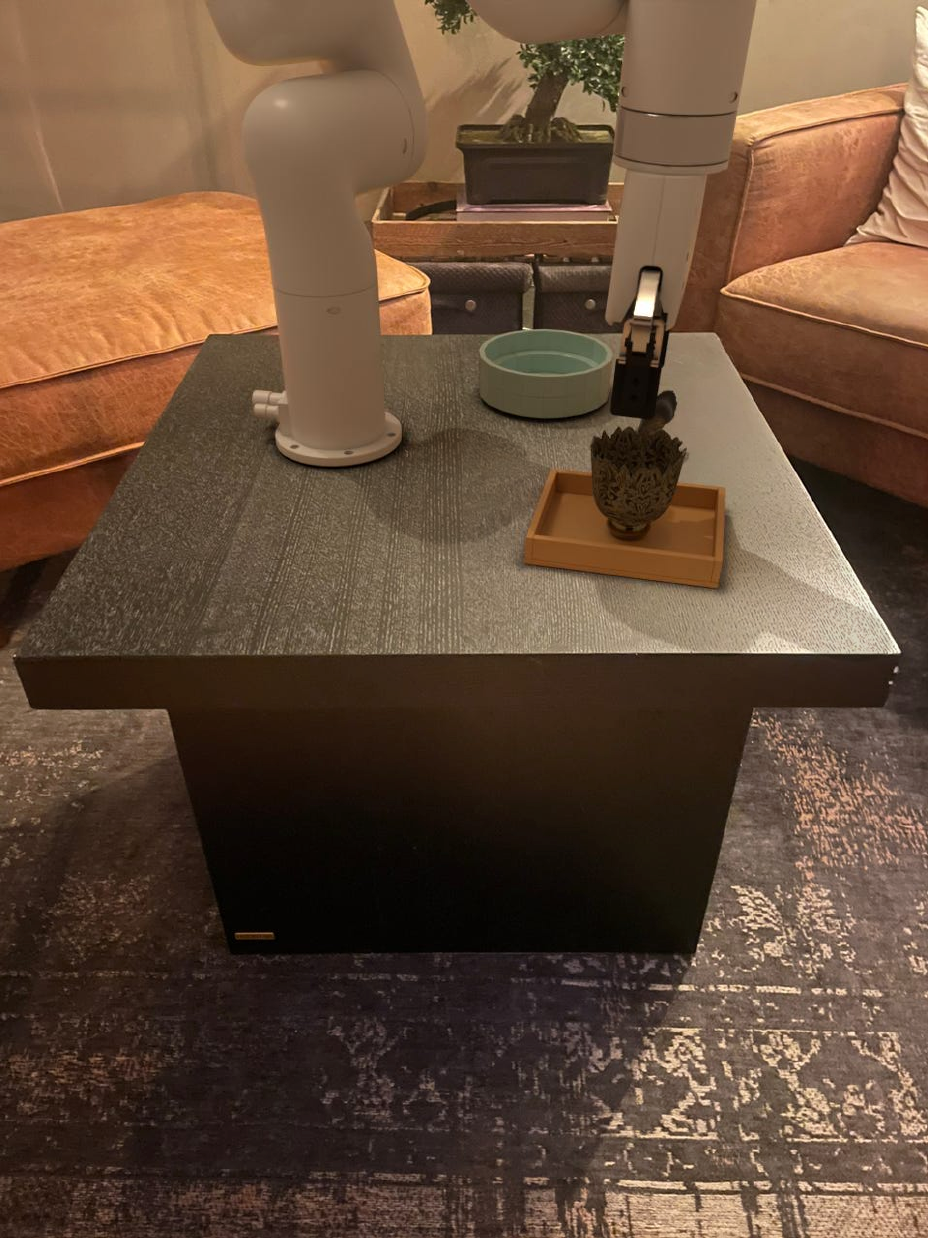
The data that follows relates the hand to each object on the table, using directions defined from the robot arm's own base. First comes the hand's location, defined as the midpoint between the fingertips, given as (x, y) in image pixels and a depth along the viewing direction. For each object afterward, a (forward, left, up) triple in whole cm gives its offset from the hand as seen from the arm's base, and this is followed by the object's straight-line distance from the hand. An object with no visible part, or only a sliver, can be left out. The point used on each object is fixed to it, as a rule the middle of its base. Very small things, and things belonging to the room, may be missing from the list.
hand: (638, 389), depth 70 cm
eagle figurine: (+1, +14, -13) cm, 19 cm away
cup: (+1, 0, -13) cm, 13 cm away
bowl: (-12, +28, -13) cm, 33 cm away
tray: (0, 0, -13) cm, 13 cm away
